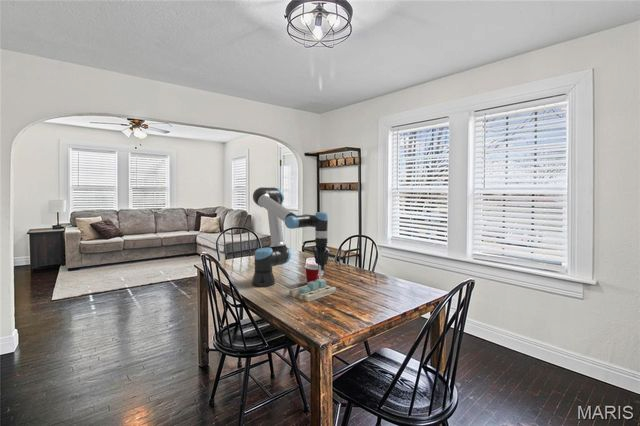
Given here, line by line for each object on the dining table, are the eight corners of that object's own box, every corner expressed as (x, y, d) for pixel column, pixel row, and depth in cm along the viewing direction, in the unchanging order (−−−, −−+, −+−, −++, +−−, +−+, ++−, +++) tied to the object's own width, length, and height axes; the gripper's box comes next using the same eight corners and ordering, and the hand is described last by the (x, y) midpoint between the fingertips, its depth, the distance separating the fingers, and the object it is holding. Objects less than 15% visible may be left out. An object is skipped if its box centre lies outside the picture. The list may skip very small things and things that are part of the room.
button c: (315, 286, 197) (315, 280, 197) (320, 284, 201) (320, 278, 201) (321, 288, 194) (321, 281, 194) (326, 286, 198) (326, 280, 197)
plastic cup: (314, 287, 206) (314, 268, 205) (300, 284, 212) (301, 266, 212) (323, 283, 215) (323, 265, 214) (310, 280, 221) (310, 263, 220)
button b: (307, 288, 192) (307, 282, 192) (312, 287, 196) (312, 280, 195) (313, 290, 189) (313, 284, 189) (318, 288, 192) (318, 282, 192)
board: (289, 295, 189) (289, 290, 189) (316, 286, 207) (316, 282, 206) (308, 301, 178) (308, 296, 178) (335, 292, 196) (335, 287, 196)
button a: (298, 294, 187) (298, 288, 187) (304, 293, 191) (304, 286, 190) (304, 296, 184) (304, 289, 184) (310, 294, 187) (310, 288, 187)
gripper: (309, 236, 197) (309, 274, 199) (325, 239, 188) (324, 278, 190) (317, 235, 203) (317, 272, 204) (333, 237, 194) (333, 276, 195)
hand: (321, 275), depth 197 cm, fingers closed
